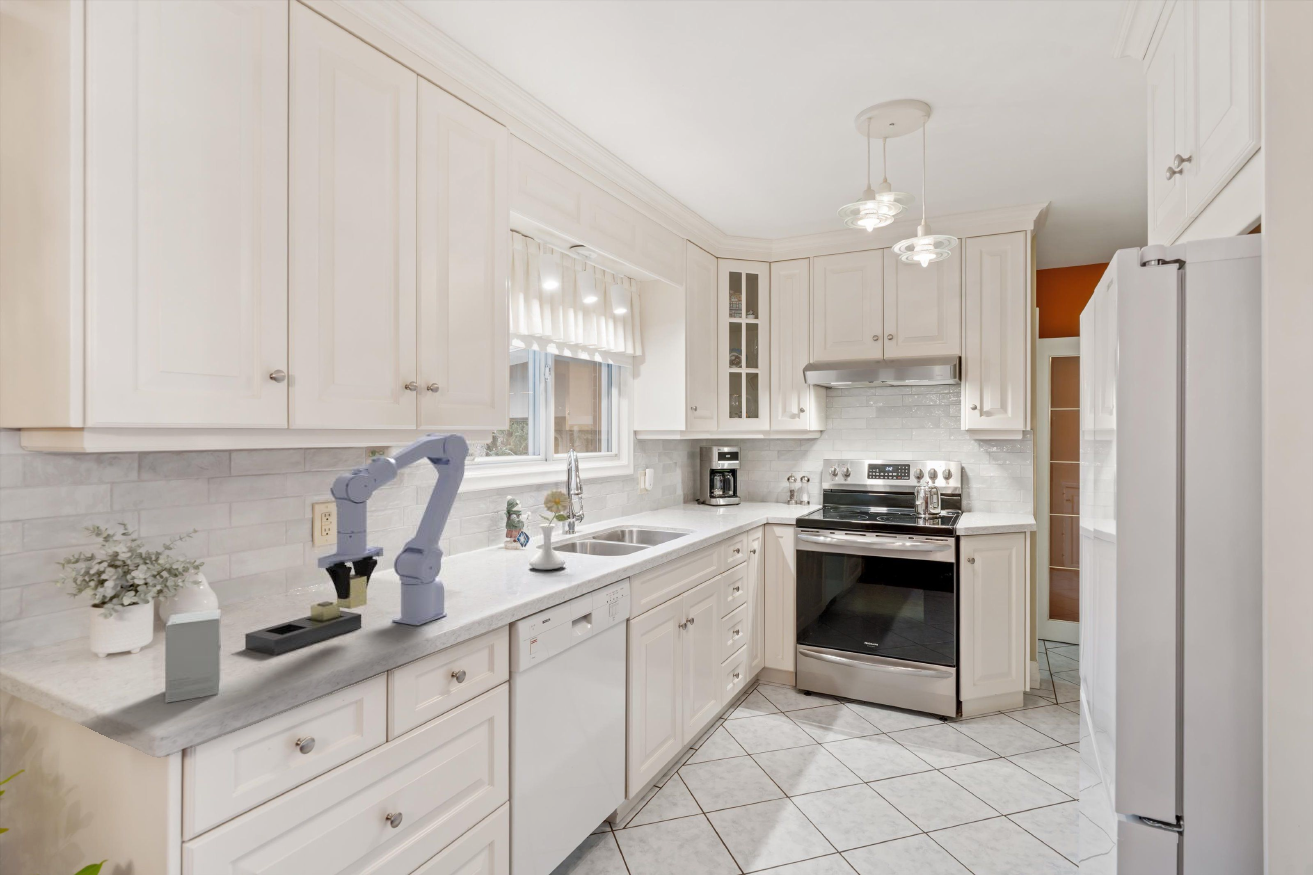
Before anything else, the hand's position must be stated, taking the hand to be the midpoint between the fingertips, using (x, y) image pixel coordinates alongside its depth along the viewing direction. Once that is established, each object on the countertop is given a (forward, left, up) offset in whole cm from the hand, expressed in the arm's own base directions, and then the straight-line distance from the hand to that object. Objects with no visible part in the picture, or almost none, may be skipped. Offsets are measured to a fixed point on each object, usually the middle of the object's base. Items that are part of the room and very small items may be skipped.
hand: (352, 596), depth 137 cm
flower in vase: (-76, -3, -9) cm, 77 cm away
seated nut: (0, -9, -9) cm, 13 cm away
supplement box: (+31, 0, -9) cm, 32 cm away
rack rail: (+4, -9, -9) cm, 13 cm away
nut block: (0, 0, -2) cm, 2 cm away
